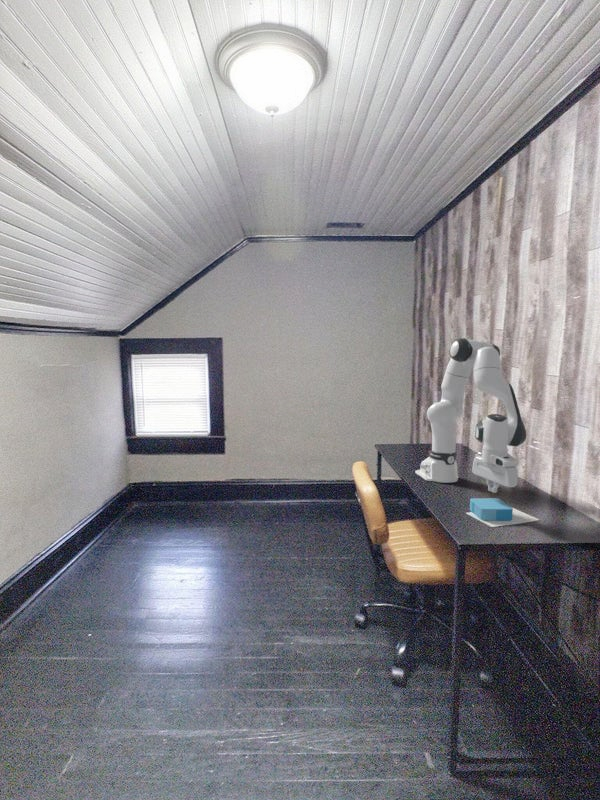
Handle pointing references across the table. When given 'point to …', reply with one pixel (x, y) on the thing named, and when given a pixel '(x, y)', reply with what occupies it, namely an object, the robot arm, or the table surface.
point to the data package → (491, 509)
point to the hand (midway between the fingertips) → (492, 491)
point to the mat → (516, 519)
